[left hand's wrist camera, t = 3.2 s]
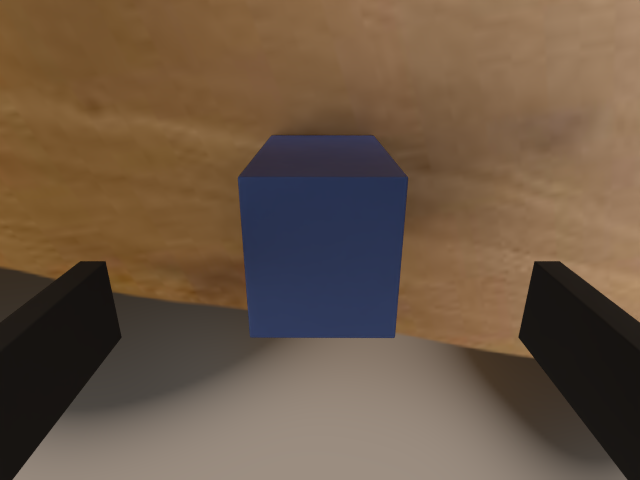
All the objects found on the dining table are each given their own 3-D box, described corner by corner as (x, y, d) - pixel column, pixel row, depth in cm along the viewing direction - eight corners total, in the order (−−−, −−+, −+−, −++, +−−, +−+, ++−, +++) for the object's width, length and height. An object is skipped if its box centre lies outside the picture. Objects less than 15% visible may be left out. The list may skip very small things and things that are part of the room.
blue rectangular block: (275, 242, 25) (249, 338, 16) (271, 135, 22) (237, 176, 13) (368, 242, 25) (395, 338, 16) (374, 135, 22) (408, 177, 13)
